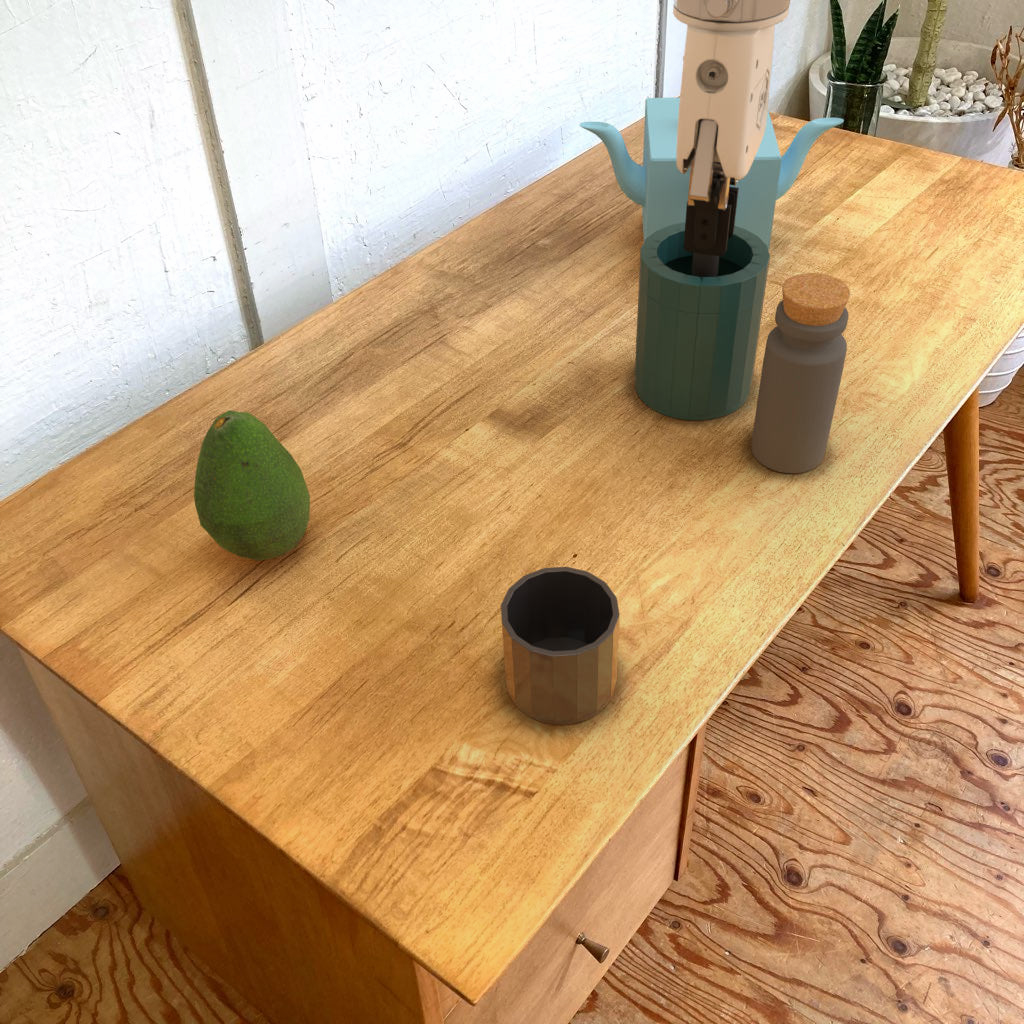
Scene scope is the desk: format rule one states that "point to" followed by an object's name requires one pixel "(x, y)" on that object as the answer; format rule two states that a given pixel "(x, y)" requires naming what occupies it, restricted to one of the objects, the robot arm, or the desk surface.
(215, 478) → the fruit
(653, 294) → the jar
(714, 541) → the desk surface
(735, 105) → the robot arm
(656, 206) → the teakettle
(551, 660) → the holder
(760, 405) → the bottle
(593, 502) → the desk surface
